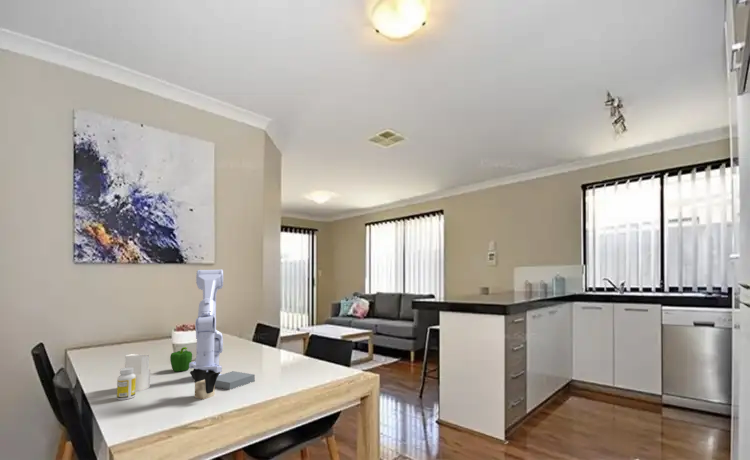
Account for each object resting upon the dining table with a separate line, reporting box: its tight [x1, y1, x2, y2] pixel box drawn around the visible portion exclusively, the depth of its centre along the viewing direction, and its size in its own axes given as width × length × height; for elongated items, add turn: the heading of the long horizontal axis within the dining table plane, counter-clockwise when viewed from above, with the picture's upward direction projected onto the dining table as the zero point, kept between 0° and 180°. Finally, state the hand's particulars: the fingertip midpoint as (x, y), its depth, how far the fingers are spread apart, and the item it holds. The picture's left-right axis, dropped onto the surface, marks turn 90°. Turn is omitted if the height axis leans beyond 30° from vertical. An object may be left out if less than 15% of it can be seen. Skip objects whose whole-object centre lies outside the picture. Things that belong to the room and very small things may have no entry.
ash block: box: [194, 380, 216, 400], centre depth 138 cm, size 4×4×5 cm
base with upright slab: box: [124, 353, 151, 393], centre depth 150 cm, size 9×9×12 cm
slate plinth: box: [215, 370, 256, 390], centre depth 153 cm, size 12×12×2 cm
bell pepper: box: [169, 346, 193, 372], centre depth 174 cm, size 8×8×10 cm
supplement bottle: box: [116, 367, 136, 401], centre depth 139 cm, size 5×5×10 cm
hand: (204, 391), depth 138 cm, fingers closed on ash block, 4 cm apart
